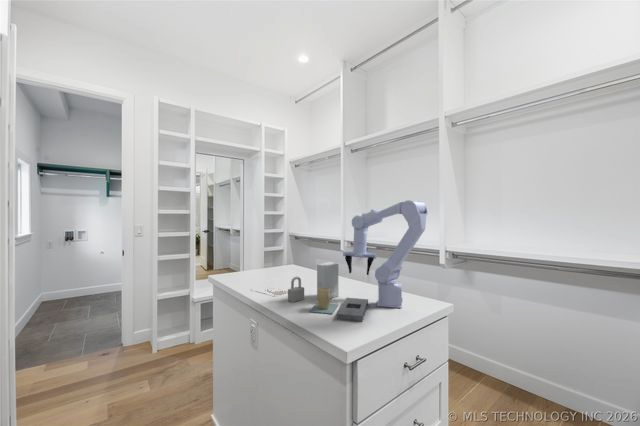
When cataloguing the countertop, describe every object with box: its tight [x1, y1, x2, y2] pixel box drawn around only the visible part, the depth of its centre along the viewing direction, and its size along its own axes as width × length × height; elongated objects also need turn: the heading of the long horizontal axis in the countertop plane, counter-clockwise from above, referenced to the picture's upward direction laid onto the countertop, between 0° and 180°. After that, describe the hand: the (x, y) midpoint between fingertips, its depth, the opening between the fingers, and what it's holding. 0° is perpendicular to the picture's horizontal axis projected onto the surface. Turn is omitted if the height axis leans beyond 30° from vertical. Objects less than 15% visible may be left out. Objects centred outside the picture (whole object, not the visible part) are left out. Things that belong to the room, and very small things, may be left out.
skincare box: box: [316, 261, 339, 299], centre depth 127 cm, size 8×6×15 cm
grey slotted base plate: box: [336, 297, 369, 323], centre depth 108 cm, size 9×20×2 cm, turn 165°
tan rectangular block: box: [317, 288, 331, 310], centre depth 111 cm, size 4×4×7 cm
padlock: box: [287, 276, 305, 303], centre depth 122 cm, size 7×4×10 cm, turn 137°
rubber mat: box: [308, 302, 339, 315], centre depth 111 cm, size 9×11×1 cm
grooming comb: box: [265, 289, 288, 296], centre depth 136 cm, size 18×10×1 cm, turn 50°
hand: (358, 273), depth 126 cm, fingers open, 7 cm apart
